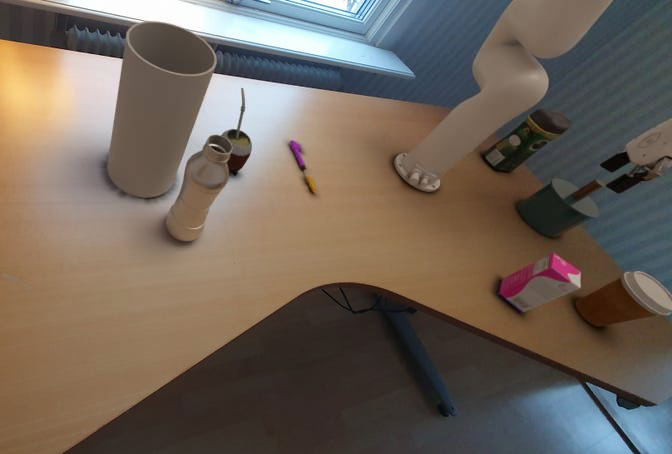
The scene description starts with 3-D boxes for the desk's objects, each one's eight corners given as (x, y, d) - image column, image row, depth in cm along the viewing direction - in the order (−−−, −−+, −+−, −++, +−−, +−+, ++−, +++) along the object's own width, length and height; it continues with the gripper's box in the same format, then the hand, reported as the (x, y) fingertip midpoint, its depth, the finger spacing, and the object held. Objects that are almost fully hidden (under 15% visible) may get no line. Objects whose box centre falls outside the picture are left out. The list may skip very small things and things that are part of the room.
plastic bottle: (173, 250, 61) (212, 166, 46) (156, 218, 64) (187, 129, 49) (206, 240, 64) (252, 159, 49) (188, 210, 67) (227, 124, 52)
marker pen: (288, 142, 88) (311, 194, 79) (291, 138, 87) (315, 191, 78) (296, 145, 89) (320, 197, 81) (299, 141, 88) (324, 193, 80)
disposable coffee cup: (560, 292, 84) (622, 267, 75) (587, 294, 87) (651, 270, 78) (589, 333, 79) (659, 312, 70) (617, 334, 82) (689, 313, 72)
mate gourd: (230, 185, 74) (262, 127, 63) (198, 163, 75) (224, 102, 63) (246, 166, 79) (278, 109, 67) (215, 146, 80) (242, 86, 68)
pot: (559, 245, 96) (598, 225, 89) (517, 218, 98) (553, 197, 91) (556, 219, 103) (592, 199, 96) (517, 195, 105) (550, 173, 98)
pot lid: (598, 228, 89) (630, 212, 84) (549, 198, 91) (578, 181, 86) (591, 200, 97) (620, 184, 92) (546, 173, 99) (572, 156, 94)
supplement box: (524, 297, 80) (582, 272, 71) (521, 314, 76) (581, 289, 68) (500, 278, 81) (554, 251, 72) (495, 294, 78) (552, 267, 69)
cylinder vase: (93, 161, 68) (107, 25, 48) (148, 142, 74) (179, 17, 55) (132, 209, 64) (164, 83, 44) (186, 185, 71) (234, 67, 51)
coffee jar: (499, 155, 116) (561, 107, 102) (514, 174, 112) (581, 126, 98) (477, 151, 114) (537, 101, 99) (491, 170, 109) (557, 121, 95)
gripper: (675, 96, 80) (588, 153, 94) (700, 129, 70) (598, 188, 83) (710, 114, 79) (617, 169, 92) (740, 151, 69) (631, 208, 82)
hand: (608, 178), depth 88 cm, fingers open, 9 cm apart
